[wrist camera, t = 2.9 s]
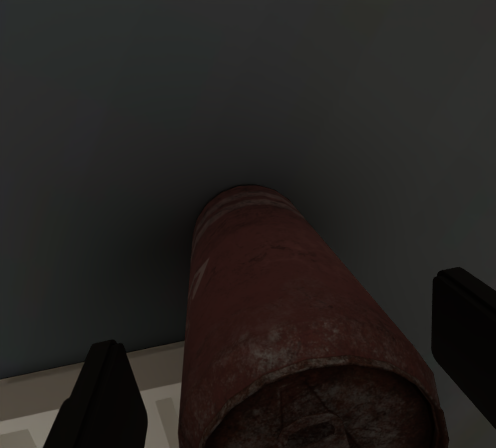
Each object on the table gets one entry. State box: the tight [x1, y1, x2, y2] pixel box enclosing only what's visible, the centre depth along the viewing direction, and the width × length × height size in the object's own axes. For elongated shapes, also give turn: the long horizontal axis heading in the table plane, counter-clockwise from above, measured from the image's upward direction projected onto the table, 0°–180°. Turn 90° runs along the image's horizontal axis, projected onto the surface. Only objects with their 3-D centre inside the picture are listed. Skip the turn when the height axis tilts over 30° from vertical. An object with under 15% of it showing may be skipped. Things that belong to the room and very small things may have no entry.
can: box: [178, 185, 449, 448], centre depth 14 cm, size 6×6×14 cm
